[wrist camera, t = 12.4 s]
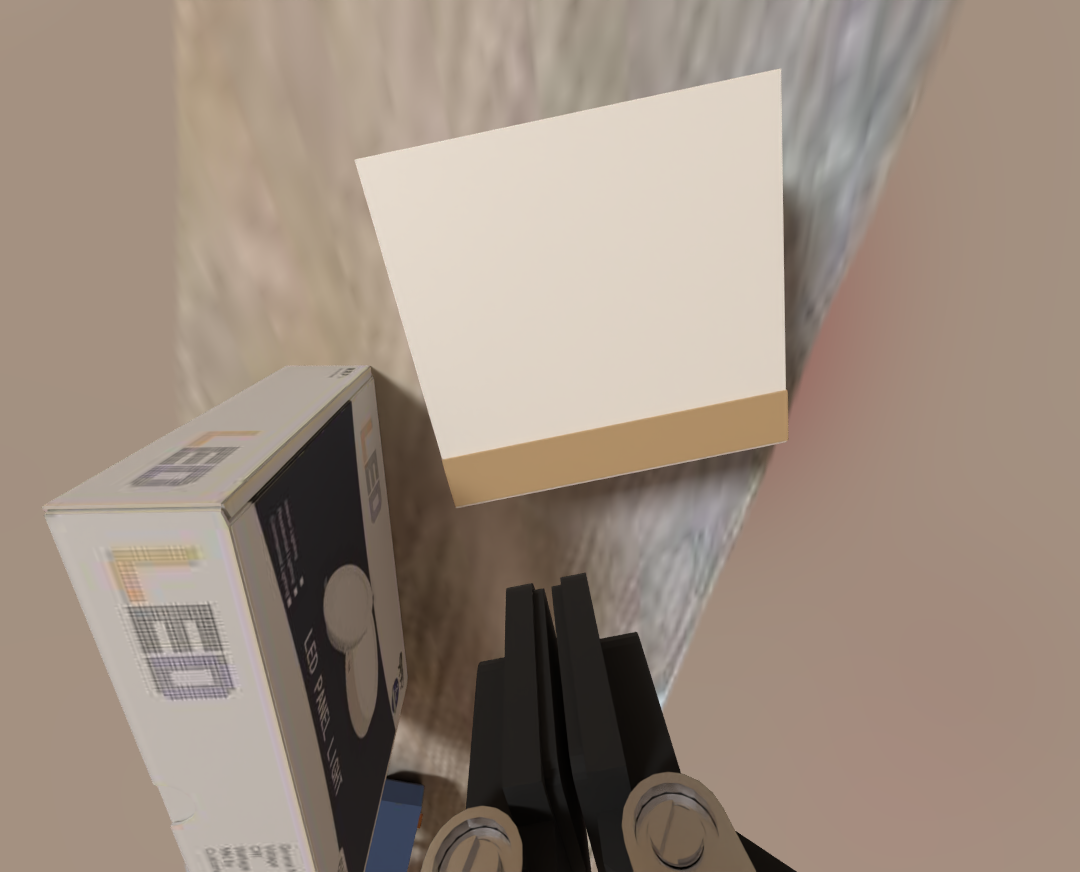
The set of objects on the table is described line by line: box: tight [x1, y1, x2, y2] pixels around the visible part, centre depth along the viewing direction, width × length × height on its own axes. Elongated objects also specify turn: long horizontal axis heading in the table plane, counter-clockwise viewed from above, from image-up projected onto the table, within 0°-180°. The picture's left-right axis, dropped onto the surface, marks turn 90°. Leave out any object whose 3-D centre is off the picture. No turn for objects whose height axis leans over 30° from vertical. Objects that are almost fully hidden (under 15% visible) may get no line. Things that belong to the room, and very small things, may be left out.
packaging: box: [42, 365, 408, 872], centre depth 32 cm, size 30×6×20 cm, turn 179°
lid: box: [355, 69, 788, 508], centre depth 26 cm, size 20×18×1 cm
